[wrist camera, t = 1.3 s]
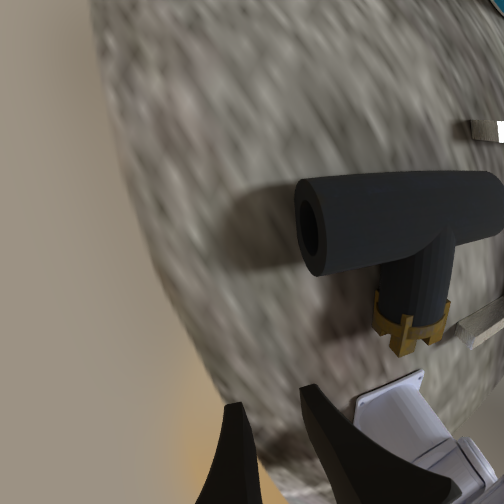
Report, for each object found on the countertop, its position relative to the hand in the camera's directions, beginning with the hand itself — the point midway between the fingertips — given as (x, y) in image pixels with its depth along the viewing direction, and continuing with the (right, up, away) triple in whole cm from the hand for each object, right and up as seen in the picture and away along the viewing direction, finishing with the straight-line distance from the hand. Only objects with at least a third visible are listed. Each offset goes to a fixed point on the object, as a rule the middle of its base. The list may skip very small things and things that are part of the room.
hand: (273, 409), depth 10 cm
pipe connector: (+9, +7, +9) cm, 14 cm away
